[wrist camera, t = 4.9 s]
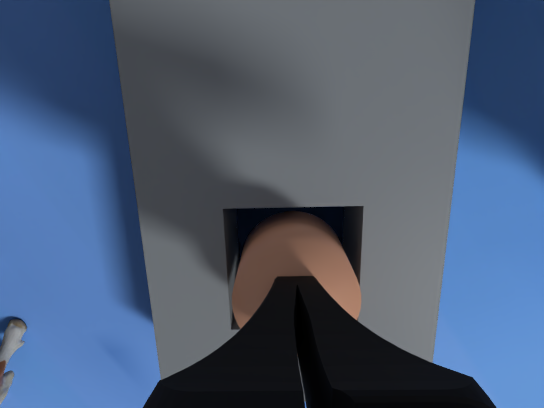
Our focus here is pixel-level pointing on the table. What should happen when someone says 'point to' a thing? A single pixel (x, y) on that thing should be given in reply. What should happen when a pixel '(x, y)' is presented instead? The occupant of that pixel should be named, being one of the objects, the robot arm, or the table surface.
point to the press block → (292, 148)
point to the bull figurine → (9, 353)
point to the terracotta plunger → (293, 262)
